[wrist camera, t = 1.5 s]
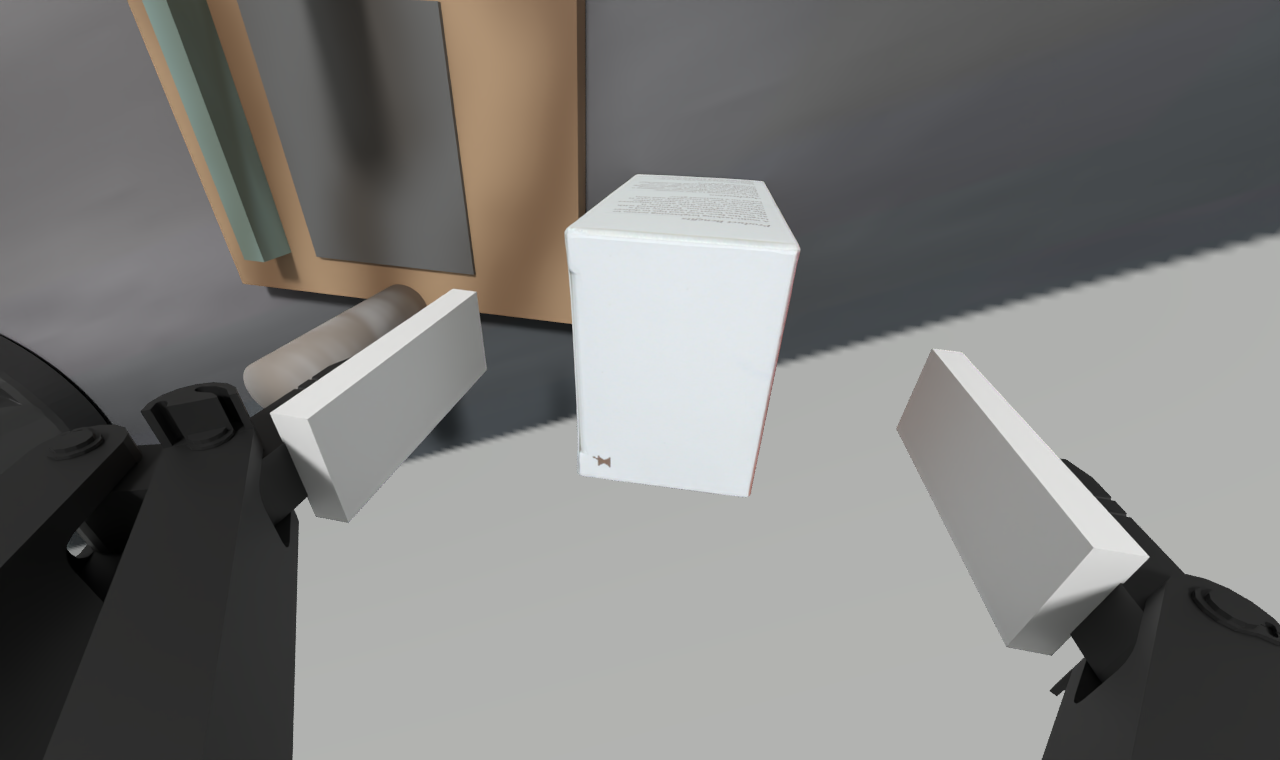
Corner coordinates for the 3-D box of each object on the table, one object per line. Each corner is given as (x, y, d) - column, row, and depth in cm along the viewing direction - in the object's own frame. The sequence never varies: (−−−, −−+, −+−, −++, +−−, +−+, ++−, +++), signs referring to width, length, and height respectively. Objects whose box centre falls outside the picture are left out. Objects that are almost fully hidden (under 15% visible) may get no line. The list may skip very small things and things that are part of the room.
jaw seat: (271, 300, 26) (77, 386, 18) (107, -129, 17) (-412, -323, 9) (585, 339, 24) (520, 454, 16) (585, -116, 15) (442, -340, 7)
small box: (740, 350, 23) (751, 506, 14) (629, 339, 24) (574, 482, 15) (768, 176, 19) (809, 245, 10) (633, 169, 20) (560, 227, 11)
